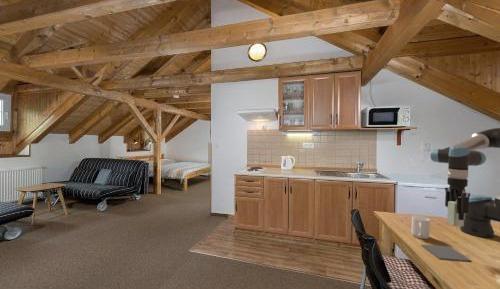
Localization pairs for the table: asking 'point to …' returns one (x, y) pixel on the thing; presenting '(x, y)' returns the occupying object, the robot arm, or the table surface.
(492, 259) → the table surface
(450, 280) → the table surface
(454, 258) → the mat
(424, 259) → the table surface
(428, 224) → the mug
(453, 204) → the block
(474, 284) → the table surface
